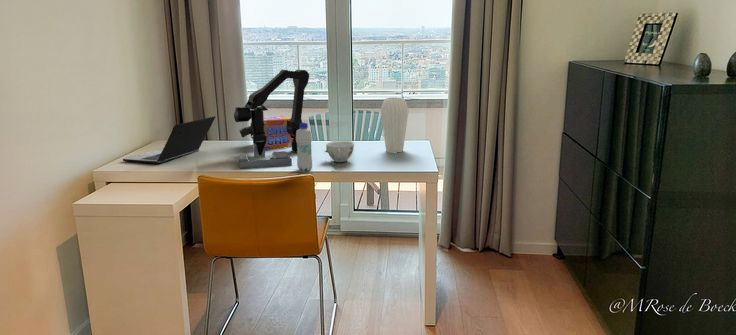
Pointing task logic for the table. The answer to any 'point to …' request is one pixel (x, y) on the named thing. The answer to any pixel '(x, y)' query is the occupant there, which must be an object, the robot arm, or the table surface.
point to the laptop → (178, 142)
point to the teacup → (340, 150)
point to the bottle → (304, 147)
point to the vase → (394, 123)
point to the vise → (262, 162)
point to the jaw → (280, 155)
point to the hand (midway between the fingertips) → (259, 153)
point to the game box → (276, 132)
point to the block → (255, 151)
